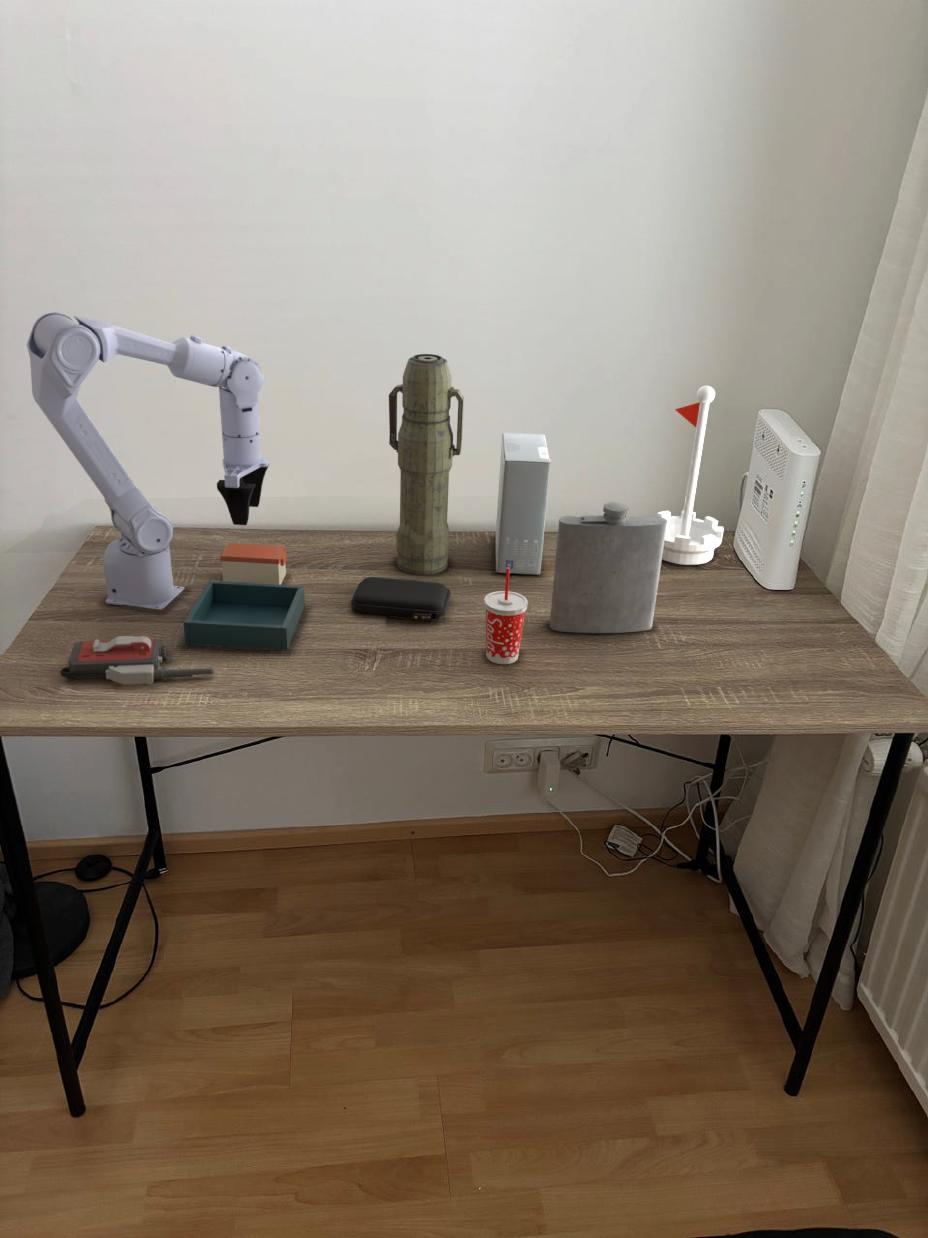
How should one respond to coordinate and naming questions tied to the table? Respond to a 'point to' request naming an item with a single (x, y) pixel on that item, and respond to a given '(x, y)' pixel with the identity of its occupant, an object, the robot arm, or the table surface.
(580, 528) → the hip flask
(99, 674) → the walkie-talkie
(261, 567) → the lunchbox
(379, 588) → the carrying case
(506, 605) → the beverage cup
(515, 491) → the hard drive box
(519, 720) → the table surface
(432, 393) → the thermos
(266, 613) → the tray
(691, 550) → the flag stand
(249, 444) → the robot arm
